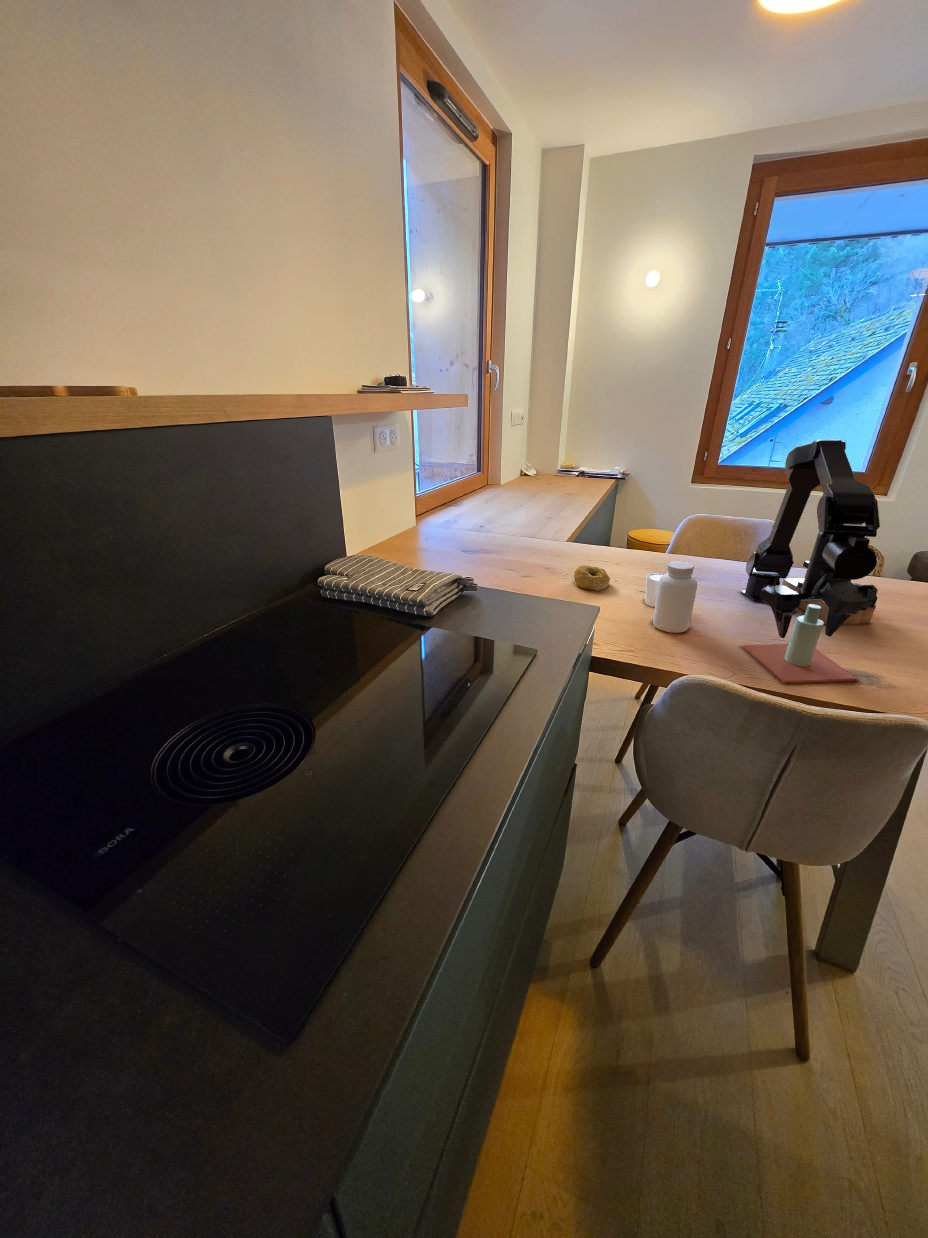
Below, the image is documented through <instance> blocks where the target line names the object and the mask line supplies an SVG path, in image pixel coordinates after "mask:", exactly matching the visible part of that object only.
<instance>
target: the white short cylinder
mask: <svg viewBox="0 0 928 1238" xmlns="http://www.w3.org/2000/svg"><path fill="white" fill-rule="evenodd" d="M664 574H665V573H657V572H655V573H650V574H647V575H646V577H645V597H644V603H645V604H646V606H648V607H649V606H650V607H652V608H655V604H656V598H657V591H658V585H659V580H660V578H661V576H662V575H664Z"/></svg>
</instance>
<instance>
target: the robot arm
mask: <svg viewBox="0 0 928 1238" xmlns="http://www.w3.org/2000/svg"><path fill="white" fill-rule="evenodd" d="M846 448H847V443H846V441H844V440H841V439H818V440H814V441H812V442H810V443H808V444H804V445H800V446H796V447H794V448H793V449H792V450H791V451H789V452H788V454H787V456H786V458H785V464H784V467H785V474H786V476H787V480H788V484H787V487H786V491H785V494H784V495H783V499H782V501H781V504H780V507H779V509H778V511H777V514H776V517H775V520H774V522H773V525H772V528H771V531H770V534H769V535H768V536H767V537H766V538H765V539H764V540H762V541H761V542H759V543H758V544H757V547H756V549H755V551H754V552H752V554H751V555H750V557H749V558H748V559H747V561H746V564H745V572H746V574H747V575H748V579H747V583H746V587H745V590H741V591H740V593H741V594H743V595H744V596H746V597H747V598H748V599H750V600H751V601H752V602H763V603H765V604H766V605H768V606H769V607H770V608H771V611H772V614H773V617H774V620H775V621H774V622H775V624H776V629H777V633H778V636H779V638H781V639H785V638H786V637H787V634H788V631H789V628H790V624H791V621H792V619H793V616H795V615H797V614H798V613H799V610H798V609H797V608H800V607H799V606H800V603H801V601H824V602H825V603H826V605H827V606H828V607H829V610H828V616H827V622H826V624H825V632H824V634H825V636H827V637H828V638H831V637H832V636H833V635H834V634H835V633H836V632H837V631H838V630H839V628H840V627H841V626H842V625H844V624H843V623H844V622H845V621H846V620H847V619H848V618H849V617H850V616H851V615H852V614H857V613H858V612H860V611H865V610H867V608H871V607H874V606H875V605H876V603H877V601H878V591H879V590H878V588H877V587H876V586H875V585H874V584H860V583H858V582H852V581H855V580H861V579H863V578H865V577H868V576H869V575H871V574H872V572H873V571H874V570H875V569H876V567H877V565H878V557H877V554H876V552H875V551H874V550H873V549H872V548H870V546H869V544H870V542H871V540H870V538H876V537H877V535H878V529H880V527H881V524H880V523H881V522H880V512H879V511H880V510H879V505H878V499H877V498H876V495H875V493H874V492H873V491H872V489H871V488H870V486H869V485H867V484H865V483H863V482H861V481H858V480H857V479H856V477H855V474H854V471H853V468H852V466H851V463H850V461H849V458H848V455H847V453H846ZM819 486H820V487H821V491H822V496H821V497H820V498H819V501H818V503H817V507H816V517H817V524H818V527H817V529H818V533H817V535H816V539H815V542H814V546H813V549H812V552H811V555H810V558H809V560H804V561H803V565H802V567H803V568H806V572H805V576H804V577H803V578H804V581H799V582H798V584H797V587H799V588H800V589H801V591H793V590H791V589H790V588H788V587H786V586H784V585H782V584H781V579H783V580H784V579H787V577H788V576H789V574H790V571H791V570H792V567H793V565H794V563H795V561H794V555H793V551H792V548H791V543H792V540H793V537H794V534H795V532H796V530H797V527H798V525H799V523H800V521H801V518H802V516H803V513H804V511H805V508H806V506H807V503H808V501H809V498H810V497H811V493H812V491H813V490H814V489H816V488H818V487H819Z"/></svg>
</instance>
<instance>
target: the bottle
mask: <svg viewBox="0 0 928 1238" xmlns="http://www.w3.org/2000/svg"><path fill="white" fill-rule="evenodd" d="M820 611H821V606H819V605H815V604H809V605H808V606H807V609H806V611H804V612H805V613H804V615H799V616H798V615H797V617H796V619H795V622H794V625H793V628H792V631H791V635H790V638H789V641H788V643H787V644H788V648H787V651H786V654H785V657H784V658H785V660H786V661H787V662H788V663H790V664H793V665H796V666H809V665H810V663H811V660H812V657H813V654H814V651H815V649H817V648H816V647H817V645H818V642H819V639H820V636H821V633H822V630H823V627H824V624H825V623H823V621H822V620H820V619H818V617H819V614H820Z"/></svg>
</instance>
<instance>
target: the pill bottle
mask: <svg viewBox="0 0 928 1238" xmlns="http://www.w3.org/2000/svg"><path fill="white" fill-rule="evenodd" d="M694 569H695V567H694V564H692V563H690V562H686V561H679V560H678V561H676V560H675V561H670V562H669V563H667V566H666V573H663V574H664V575H662V576H661V578H660V580H659V585H658V591H657V598H656V604H655V607H654V610H653V611H654V612H653V617H652V624H653V626H654V627H655V628H656V629H658V630H660V631H663V632H667V633H674V634H675V633H676V634H677V633H678V634H679V633H684V632H686V631H688V630H689V628H690V625H691V621H692V615H693V609H694V606H695V605H694V604H695V600H696V596H697V595H696V594H697V590H698V581H697V579H696V578H695V577H694V576H693V574H694Z"/></svg>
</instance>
